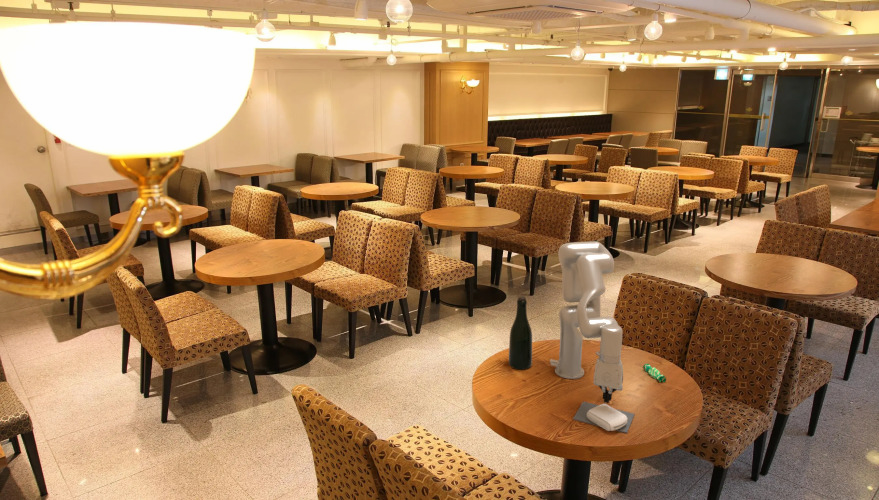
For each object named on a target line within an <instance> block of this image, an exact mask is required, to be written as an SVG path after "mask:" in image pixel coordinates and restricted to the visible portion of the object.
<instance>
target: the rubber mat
mask: <svg viewBox="0 0 879 500" xmlns="http://www.w3.org/2000/svg"><path fill="white" fill-rule="evenodd" d="M599 405H600V404H596V403H591V402H587V401H582V402H581V404H580V406H579V408H578V410H577V411H576V413H575V415H574V417H573V418H572V419H573V421H577V422H581V423H585V424H588V425H593V426H597V427H600V426H599V425H597V424H595V423H594V422H592V421H590V420H589V419H588V418H587V412H588V411H589V410H590V409H592V408H594V407H596V406H599ZM615 409H616V410H618V411H620V412H621V413H623V414H625V415H626V417H627V419H628V420H627V423H626V424H625V425H624V426H623V427H621V428H619V429H617V430H614V432H615V431H616V432H619V433H623V434H628V432H629V429H630V427H631V425H632V422H633V421H634V418H635V413H633V412H629V411H625V410H620V409H617V408H615Z"/></svg>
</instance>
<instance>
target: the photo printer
mask: <svg viewBox="0 0 879 500" xmlns="http://www.w3.org/2000/svg"><path fill="white" fill-rule="evenodd" d="M598 405H599V406H596V407H594V408H592V409H590V410H589V411H588V412H587V418H588V419H589V420H590V421H592V422H594V423H595V424H597V425H599V426H598V427H600V428H601V429H604V430H605V431H607V432H610V431H611V432H613V431H615V430H617V429H619V428H621V427H623V426H624V425H625V424H626V423H627V420H628V419H627V417H626V415H625V414H623V413H621V412H620V411H618V410H619V409H617V408H613V406H610V405H609V404H608V403H602V404H598ZM616 409H617V410H616Z"/></svg>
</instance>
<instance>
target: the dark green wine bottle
mask: <svg viewBox="0 0 879 500" xmlns="http://www.w3.org/2000/svg"><path fill="white" fill-rule="evenodd" d="M527 304H528V300H527V297H526V296H523V295H521V296H518V297H517V299H516V312H515V318H514V321H513V323H512V325H511V328H510V331H509V340H508V341H509V343H508V344H509V345H508V346H509V347H508V365H509V366H510V367H511V368H513V369H515V370H527V369H529V368H531V367H532V364H533V333H532V332H533V331H532V327H531V324H530V322H529V319H528V313H527Z"/></svg>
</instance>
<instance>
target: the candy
mask: <svg viewBox="0 0 879 500" xmlns="http://www.w3.org/2000/svg"><path fill="white" fill-rule="evenodd" d="M642 368H643V370H644V371H645V372H646V373H648V376H650V377H651V378H653V379H655V380H656V379H657V381H658V382H659V383H661V382H662V383H665V382H666V381H667V377H666V375H664V374H661V372H660V370H659V369H657V368H656V367H652V366H651V365H650V363H644V364H643V366H642Z"/></svg>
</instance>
